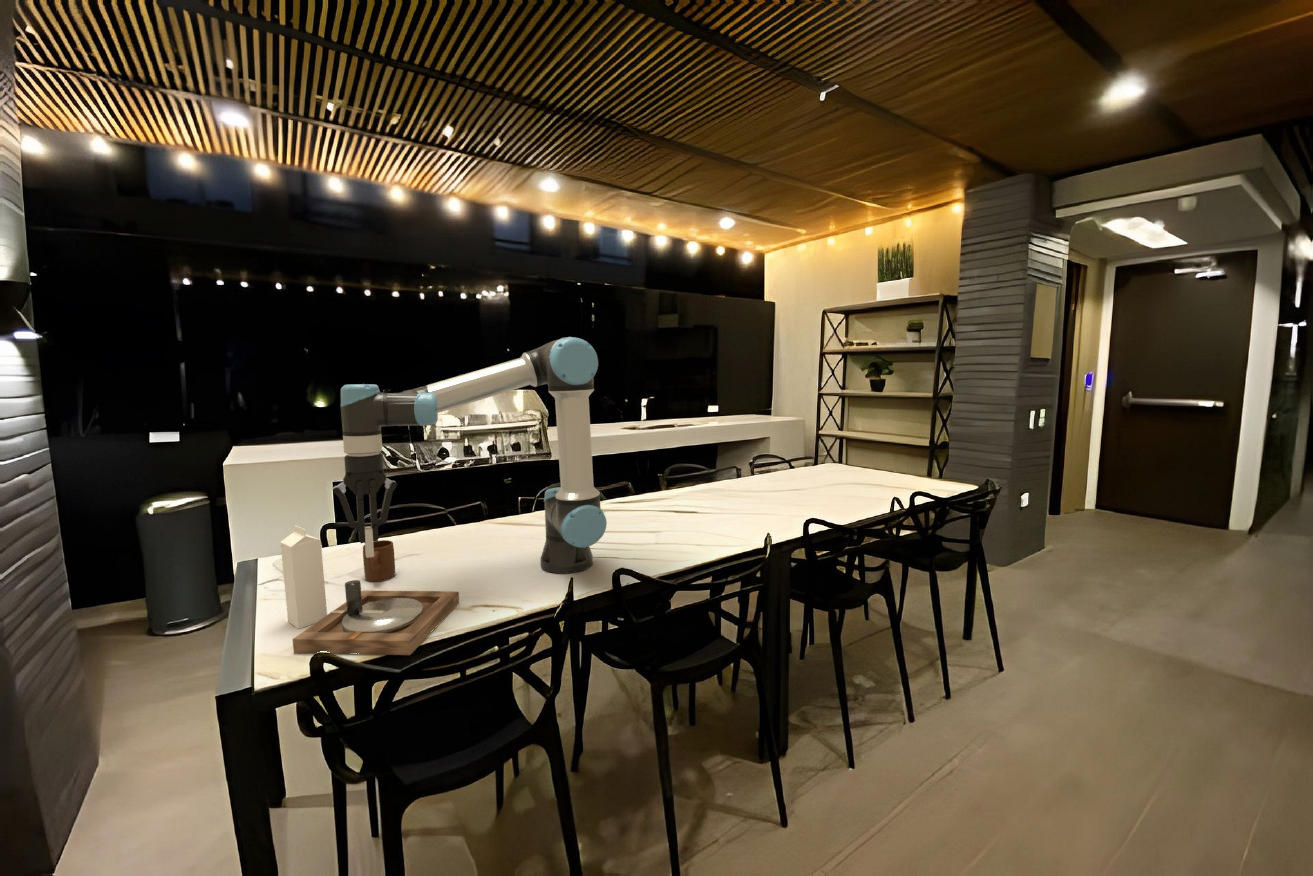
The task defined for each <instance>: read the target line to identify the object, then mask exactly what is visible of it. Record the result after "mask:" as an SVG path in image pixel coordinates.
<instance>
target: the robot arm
mask: <svg viewBox="0 0 1313 876" xmlns="http://www.w3.org/2000/svg"><path fill="white" fill-rule="evenodd" d="M598 367H599V358H598V355H597V352H596V350H595V349H594V347H593V346H592V345H591V343H589V342H588V341H586V340H584V339H582V338H579V337H572V336H568V337H561V338H560V339H555V340H553V341H550V342H548V343H545V344H543V345H542V346H540V347H537V348H534V349H532V350H528V351H526V352H523V353H522V355H521V356H520V357H519V358H514V359H511V360H508V361H505V362H501V363H498V364H495V365H491V366H488V367H485V368H481V369H479V370H475V371H471V372H467V373H465V374H464V373H463V374H459V375H457V376H454V377H450V378H447V379H445V380H444V379H443V380H440V381H436V382H434V383H430V384H427V385H424V386H420V387H416V388H413V389H408V390H403V391H401V392H393V393H392V392H391V393H389V392H388V393H387V392H381V391H380V388H379V385H377V384H373V383H372V384H368V383H367V384H365V383H362V384H360V383H359V384H351V383H350V384H344V385H343V386H342V387H341V388H340V413H341V416H340V417H341V424H342V425H341V426H342V439H343V440H342V441H343V453H344V454H345V456H344V459H343V460H344V471H345V472H344V473H345V475H344V477H343V479H342V482H340V483H339V484H337V485H334V486H333V487H332V492H333V493H334V495H336V496H337V497H338V500H339V501H340V504H341V507H342V510H343V512H344V513H343V514H344V516H345V519H346V520H347V523H348V526H349V528H350V529H357V530H358V541H359V542H360V544H364V545H365V552H366V557H367V558H369V557H374V547H373V542H374V541H379V527H380V526H381V525H385V524H386V523H387V521H388V515H389V511H390V508H391V507H390V506H391V501H392V498H393V493H394V492H395V490H396V488H397V486H398V483H397V482H396V481H395V480H393V479H392V480H391V479H389V478H388V477H387V475H386V473H385V471H384V455H383V453H381V452H382V451H383V440H382V438H383V437H382V427H394V426H395V427H396V426H398V427H403V426H404V427H405V426H408V427H409V426H410V427H411V426H421V427H423V426H429V425H432V426H433V425H436V424H437V422H438V418H439V417H438V416H439V415H438V414H439V413H443V412H446V411H448V410H449V411H450V410H452V409H455V408H458V407H462V406H465V405H468V404H471V403H472V404H473V403H476V402H479V401H481V400H485V399H488V398H491V397H494V396H497V395H501V394H503V393H504V394H506V393H508V392H511V391H514V390H517V389H521V388H523V387H527V386H531V387H534V388H536V387H539V386H543V385H547V387H548V393H549V394H550V395H551V396H552V397H553V398H554V400H555V402H554V404H555V415H556V417H555V419H556V432H557V449H558V463H559V480H560V486H558V487H557V486H556V487H552V488H548V489H546V491H544V499H543V502H544V521H545V525H544V526H545V542H544V545H543V549H542V551H541V555H540V567H541V569H542V570H543V571H545V572H548V573H553V574H573V573H579V572H582V571H585V570H587V569H589V568H590V567H591V566H593V564H594V561H593V560H594V557H593V553H592V550H591V546H593V545H595V544H596V543H598V542H600V539H602V537H603V536H604V534H605V532H606V530H607V518H606V515H605V512H604V511H603V510H602V508H601V496H600V494H601V493H600V491H599V490H598V489H597V488H595V486H594V473H593V471H594V469H593V454H592V450H593V449H592V439H591V438H592V434H591V416H590V400H589V397H590V395H592V393H593V392H594V391H595V386H594V385H595V384H594V383H595V382H594V380H595V379H594V377H595V376H596V373H597V372H598ZM383 485H384V487H385V491H384V496H383V501H382V507H381V510H380V515H379V518H378V505H377V493H378V492H379V490H380V489H381V487H382V486H383ZM346 487H347V488H348V489H349V490H350V491H351V492H352V493H353V494H354V495H355V497H356V511H357V513H356V514H357V521H355V519H354V516H353V513H352V510H351V508H350V505H349V503H348V499H347V496H346V494H345V493H346V491H347V489H346ZM365 495H368V497H369V512H370V525H369V526H366V523H365V507H364V504H365V503H364V496H365Z"/></svg>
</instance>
